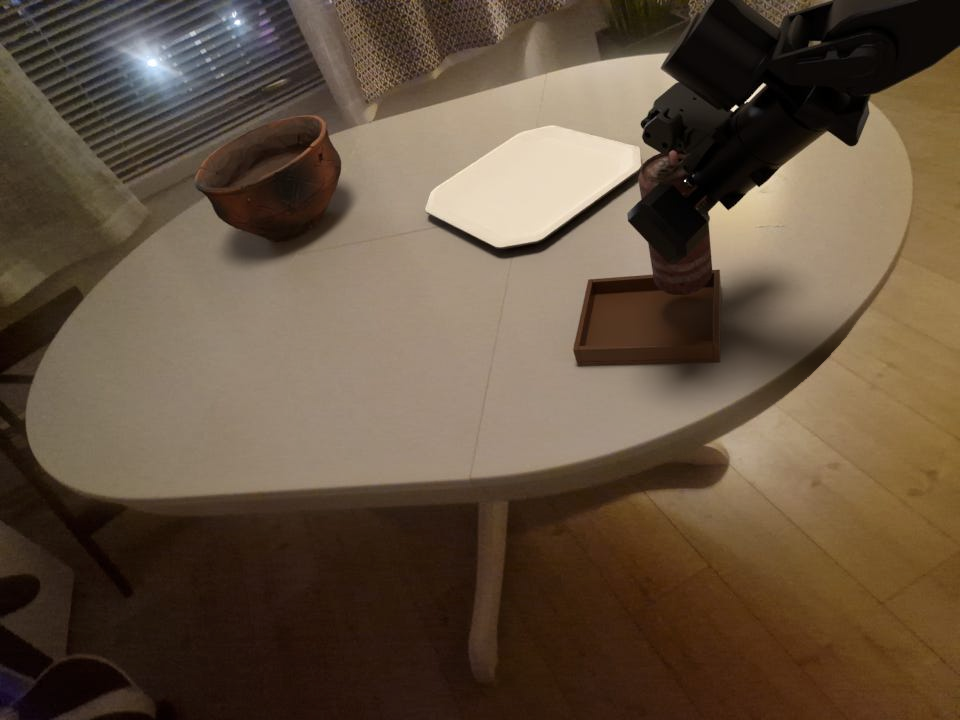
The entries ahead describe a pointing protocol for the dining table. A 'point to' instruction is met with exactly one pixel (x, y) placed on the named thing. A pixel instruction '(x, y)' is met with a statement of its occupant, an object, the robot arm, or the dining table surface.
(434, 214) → the plate
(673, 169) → the can
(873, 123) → the dining table surface
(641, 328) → the tray
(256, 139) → the bowl
